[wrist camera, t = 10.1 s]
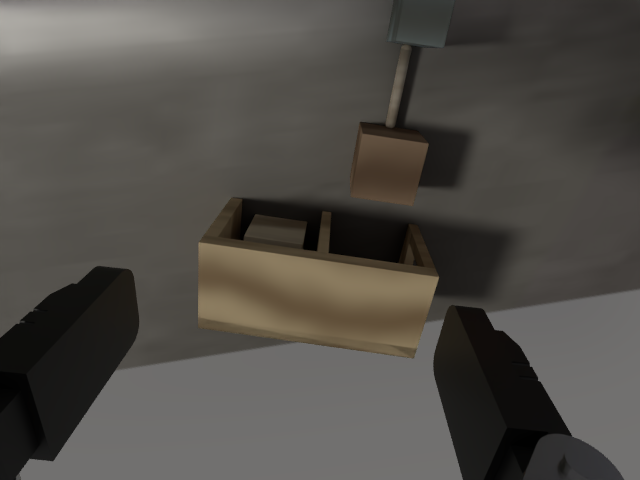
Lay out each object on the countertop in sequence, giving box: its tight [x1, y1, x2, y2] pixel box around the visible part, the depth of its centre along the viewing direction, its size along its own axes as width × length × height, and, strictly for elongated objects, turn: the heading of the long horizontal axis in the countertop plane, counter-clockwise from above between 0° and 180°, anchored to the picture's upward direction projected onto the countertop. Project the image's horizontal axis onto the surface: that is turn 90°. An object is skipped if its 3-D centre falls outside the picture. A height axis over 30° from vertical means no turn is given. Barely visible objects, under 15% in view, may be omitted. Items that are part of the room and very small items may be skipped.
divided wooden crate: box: [198, 198, 439, 358], centre depth 34 cm, size 8×17×9 cm, turn 82°
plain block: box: [244, 214, 307, 249], centre depth 36 cm, size 5×5×5 cm
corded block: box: [350, 0, 455, 206], centre depth 29 cm, size 14×5×6 cm, turn 172°
